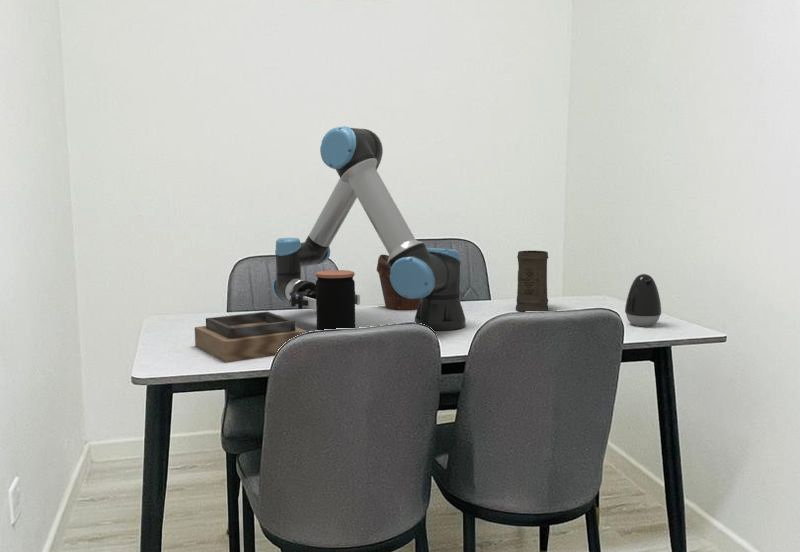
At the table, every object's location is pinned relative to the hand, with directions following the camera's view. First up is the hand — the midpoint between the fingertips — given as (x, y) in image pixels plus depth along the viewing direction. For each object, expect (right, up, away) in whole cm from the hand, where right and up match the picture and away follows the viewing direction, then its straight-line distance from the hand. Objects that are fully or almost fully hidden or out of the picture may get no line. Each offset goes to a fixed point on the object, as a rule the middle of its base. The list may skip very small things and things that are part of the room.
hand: (337, 302), depth 207 cm
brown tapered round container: (+19, -4, +51) cm, 54 cm away
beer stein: (+61, -4, +45) cm, 76 cm away
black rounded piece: (+89, -8, +17) cm, 91 cm away
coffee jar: (-1, -10, +3) cm, 10 cm away
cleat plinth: (-22, -12, -11) cm, 27 cm away
